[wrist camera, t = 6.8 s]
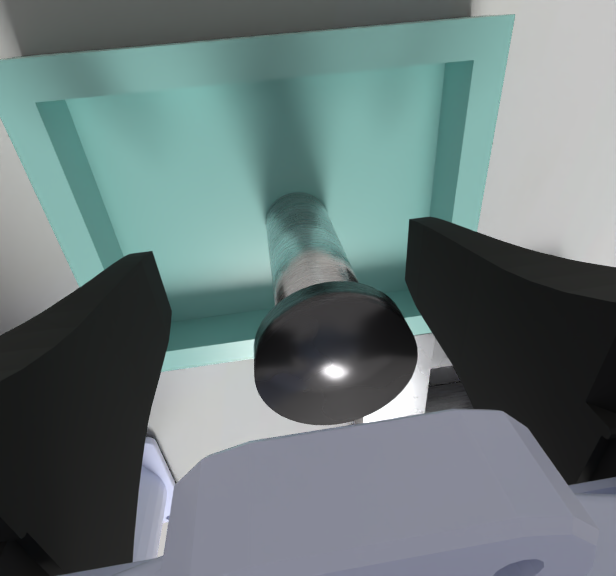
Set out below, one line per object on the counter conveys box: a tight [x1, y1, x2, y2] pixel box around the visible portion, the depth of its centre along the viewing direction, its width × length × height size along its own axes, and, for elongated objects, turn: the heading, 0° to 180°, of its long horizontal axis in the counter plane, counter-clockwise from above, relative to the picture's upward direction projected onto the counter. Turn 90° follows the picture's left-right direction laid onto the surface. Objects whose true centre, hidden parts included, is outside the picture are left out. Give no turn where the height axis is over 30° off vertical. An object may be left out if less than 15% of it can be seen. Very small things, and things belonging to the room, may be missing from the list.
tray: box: [0, 14, 515, 372], centre depth 14 cm, size 14×11×2 cm
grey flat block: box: [355, 333, 474, 424], centre depth 22 cm, size 10×14×4 cm
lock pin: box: [254, 192, 418, 425], centre depth 12 cm, size 4×4×8 cm
